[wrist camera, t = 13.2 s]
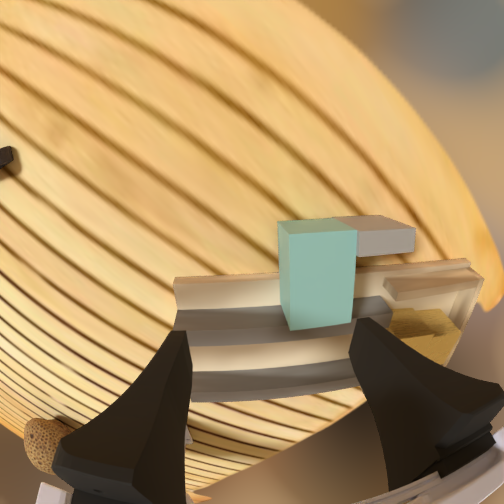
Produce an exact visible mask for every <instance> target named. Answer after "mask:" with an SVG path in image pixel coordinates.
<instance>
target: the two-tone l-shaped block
mask: <svg viewBox="0 0 504 504" xmlns="http://www.w3.org/2000/svg"><path fill="white" fill-rule="evenodd" d="M277 223H278V248H279V278H280V303H281V306H282V309H283V312H284V315H285V317H286V320H287V323H288V326H289V329H290V331H293V330H301V329H309V328H317V327H324V326H331V325H338V324H344V323H350V322H351V317H352V307H353V295H354V282H355V267H356V256H358V257H367V256H377V255H387V254H397V253H407V252H414V245H415V232H416V228H414V227H411V226H409V225H406V224H403V223H401V222H398V221H395V220H392V219H390V218H387V217H384V216H381V215H370V216H347V217H332V218H327V219H309V220H292V221H277Z"/></svg>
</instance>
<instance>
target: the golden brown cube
mask: <svg viewBox="0 0 504 504" xmlns="http://www.w3.org/2000/svg"><path fill="white" fill-rule="evenodd" d="M391 310H392V311H393V316H392V319H391V322H390V325H389V328H385V329H386V330H388V331H389V332H390V333H392V334H393V335H394V336H396V337H397V338H398V339H400V340H401V341H403V342H404V343H405V344H407V345H408V346H410V347H411V348H413V349H414V350H416V351H417V352H419V353H420V354H422V355H424V353H425V351H426V349H427V348H428V346H429V344H430V342H431V340H432V338H433V336H434V333H433V332H432V331H431V329H430V328H429V327H428V326H427V324H426V323H425V322H424V321H423V320H422V318H421V317H420V316H419V315H418V314H417V312H416V311H415V310H414V309H413V308H401V309H391Z"/></svg>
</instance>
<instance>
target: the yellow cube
mask: <svg viewBox="0 0 504 504" xmlns="http://www.w3.org/2000/svg"><path fill="white" fill-rule="evenodd" d="M416 312H417V314H418V315H419V316H420V317H421V318H422V320H423V321H424V322H425V323H426V324H427V326H428V327H429V328H430V329H431V331H432V332H433V333H434V336H433V338H432V340H431V342H430V344H429V346H428V348H427V349H426V351H425V353H424V355H423V356H425V357H427V358H429V359H430V360H432V361H434V362H436V363H438V364H440V365H441V364H444V362H445V360H446V359H447V357H448V355H449V354H450V352H451V350H452V348H453V347H454V345H455V343H456V341H457V339H458V338H459V336H460V334H461V331H460V330H459V329H458V328H457V327H456V326H455V324H454V323H453V322H452V321H451V320H450V319H449V318H448V317H447V316H446V314H445V313H444V312H443V311H442V310H441V309H440V308H439V309H428V310H416Z"/></svg>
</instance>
